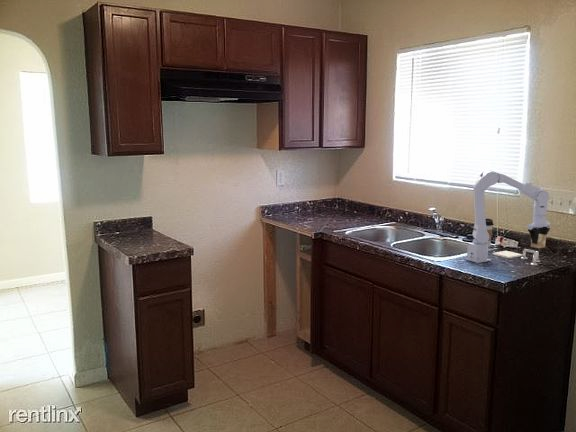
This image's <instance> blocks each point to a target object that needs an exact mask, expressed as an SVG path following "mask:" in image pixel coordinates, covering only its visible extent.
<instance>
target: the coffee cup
mask: <svg viewBox="0 0 576 432" xmlns="http://www.w3.org/2000/svg"><path fill="white" fill-rule="evenodd" d="M485 219H486V226H487V232H488V234H489V240H488V248H490V247H491V241H492V235H493V228H494V221H493V218H485Z"/></svg>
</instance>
